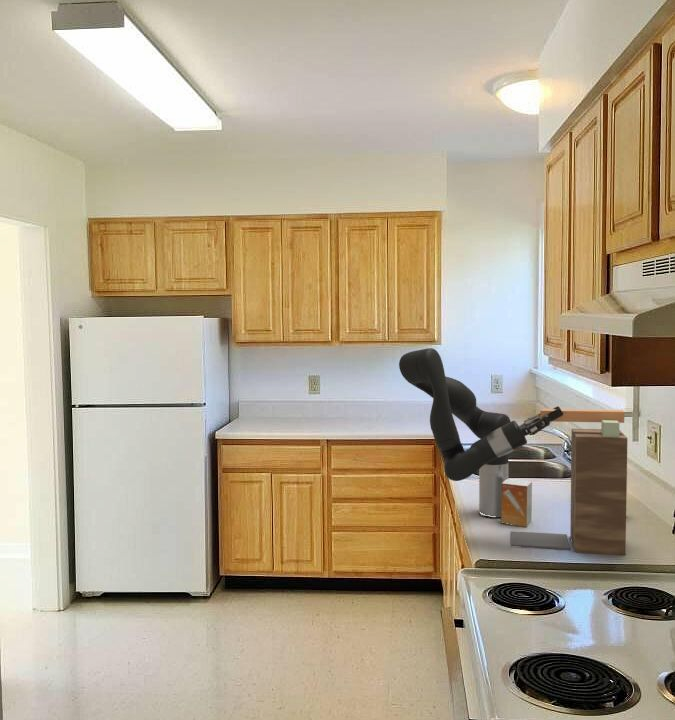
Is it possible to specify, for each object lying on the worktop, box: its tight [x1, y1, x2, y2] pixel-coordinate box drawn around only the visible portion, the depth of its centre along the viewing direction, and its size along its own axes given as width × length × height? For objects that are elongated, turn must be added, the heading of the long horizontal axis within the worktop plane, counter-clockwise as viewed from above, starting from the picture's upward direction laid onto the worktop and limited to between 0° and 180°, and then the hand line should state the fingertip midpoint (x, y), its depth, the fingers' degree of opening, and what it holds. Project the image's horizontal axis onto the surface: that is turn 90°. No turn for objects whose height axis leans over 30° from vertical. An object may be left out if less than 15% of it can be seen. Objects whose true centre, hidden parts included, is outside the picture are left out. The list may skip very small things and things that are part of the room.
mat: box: [510, 530, 572, 551], centre depth 205 cm, size 12×16×1 cm
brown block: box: [539, 408, 625, 424], centre depth 199 cm, size 3×22×3 cm, turn 77°
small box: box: [500, 478, 533, 528], centre depth 222 cm, size 8×6×13 cm
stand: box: [569, 428, 628, 556], centre depth 200 cm, size 13×13×32 cm
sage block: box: [601, 420, 620, 438], centre depth 194 cm, size 4×4×4 cm
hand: (560, 410), depth 200 cm, fingers closed on brown block, 3 cm apart
